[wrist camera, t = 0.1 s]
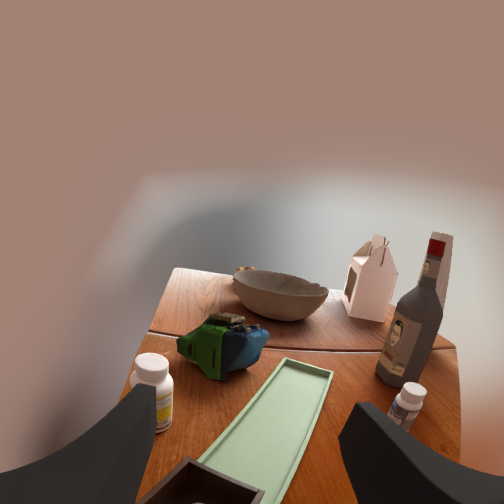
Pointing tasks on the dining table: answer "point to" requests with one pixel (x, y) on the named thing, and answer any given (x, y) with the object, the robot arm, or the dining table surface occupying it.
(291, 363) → the tray
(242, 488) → the brown rectangular box
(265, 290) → the bowl
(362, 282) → the cardboard gift box
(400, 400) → the pill bottle
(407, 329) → the liquor
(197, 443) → the dining table surface
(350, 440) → the robot arm
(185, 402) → the dining table surface
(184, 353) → the sculpture
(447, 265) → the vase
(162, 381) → the supplement bottle
